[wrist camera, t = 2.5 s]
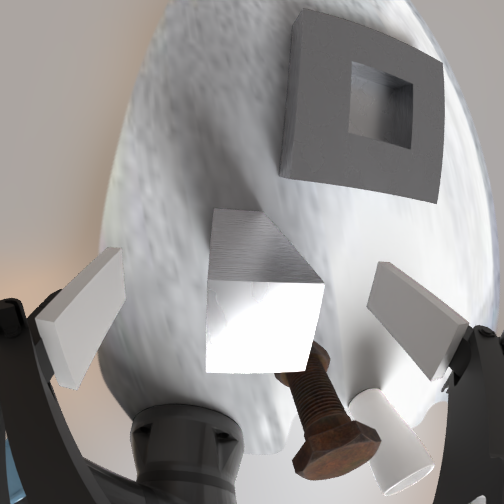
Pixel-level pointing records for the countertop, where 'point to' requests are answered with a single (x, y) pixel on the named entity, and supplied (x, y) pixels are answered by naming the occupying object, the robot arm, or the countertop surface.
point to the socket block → (362, 110)
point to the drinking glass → (391, 443)
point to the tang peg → (258, 297)
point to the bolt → (326, 423)
